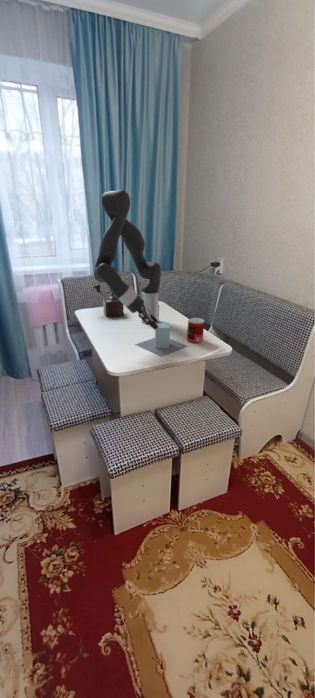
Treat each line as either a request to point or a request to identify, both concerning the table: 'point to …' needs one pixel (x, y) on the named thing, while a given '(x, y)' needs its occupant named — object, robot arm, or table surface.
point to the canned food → (195, 330)
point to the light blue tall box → (162, 335)
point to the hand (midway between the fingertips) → (156, 324)
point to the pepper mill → (111, 304)
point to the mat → (161, 352)
